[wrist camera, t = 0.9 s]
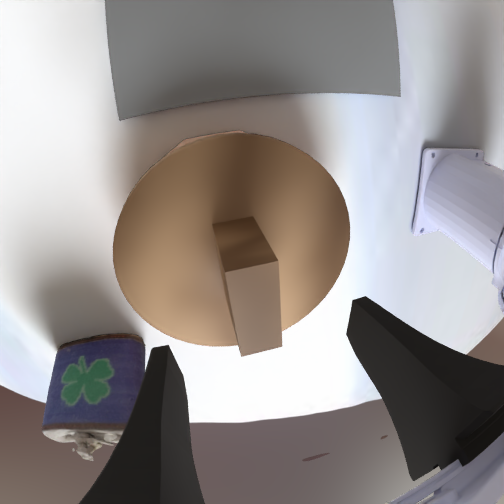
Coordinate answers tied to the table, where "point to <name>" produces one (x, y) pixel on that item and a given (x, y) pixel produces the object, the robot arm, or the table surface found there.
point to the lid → (231, 241)
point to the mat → (247, 50)
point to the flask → (94, 390)
